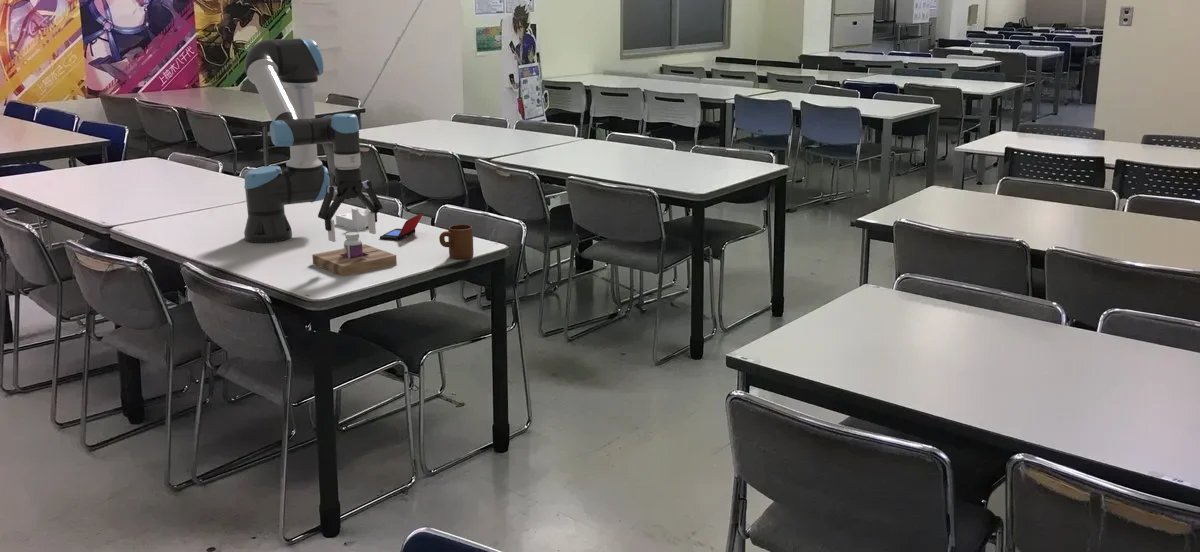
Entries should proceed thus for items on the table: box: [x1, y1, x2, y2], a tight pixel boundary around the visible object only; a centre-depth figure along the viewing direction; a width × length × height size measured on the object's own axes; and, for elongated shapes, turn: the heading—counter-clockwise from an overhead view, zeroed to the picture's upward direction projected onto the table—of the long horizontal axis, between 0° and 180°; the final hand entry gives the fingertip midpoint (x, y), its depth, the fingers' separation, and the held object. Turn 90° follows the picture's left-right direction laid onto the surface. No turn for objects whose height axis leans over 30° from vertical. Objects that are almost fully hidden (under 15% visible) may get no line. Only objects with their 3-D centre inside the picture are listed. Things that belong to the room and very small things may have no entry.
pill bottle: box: [343, 231, 363, 259], centre depth 291 cm, size 5×5×10 cm
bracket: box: [335, 207, 371, 231], centre depth 340 cm, size 13×7×8 cm, turn 47°
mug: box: [439, 224, 474, 260], centre depth 299 cm, size 12×8×9 cm, turn 138°
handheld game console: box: [379, 212, 423, 242], centre depth 325 cm, size 12×11×7 cm
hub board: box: [312, 244, 398, 277], centre depth 292 cm, size 18×18×3 cm
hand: (352, 237), depth 290 cm, fingers open, 13 cm apart
